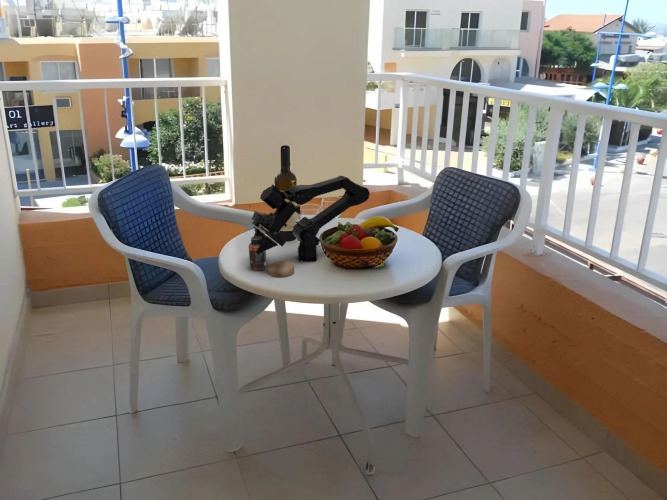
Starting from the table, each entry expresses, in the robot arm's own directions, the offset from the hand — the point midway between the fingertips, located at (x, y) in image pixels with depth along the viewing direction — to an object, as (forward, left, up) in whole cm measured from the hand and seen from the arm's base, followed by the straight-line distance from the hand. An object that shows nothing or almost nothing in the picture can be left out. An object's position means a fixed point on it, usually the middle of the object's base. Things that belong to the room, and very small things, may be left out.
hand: (253, 250), depth 204 cm
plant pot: (-43, -6, -7) cm, 44 cm away
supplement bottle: (-1, -1, -7) cm, 7 cm away
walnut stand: (-10, +3, -7) cm, 13 cm away
